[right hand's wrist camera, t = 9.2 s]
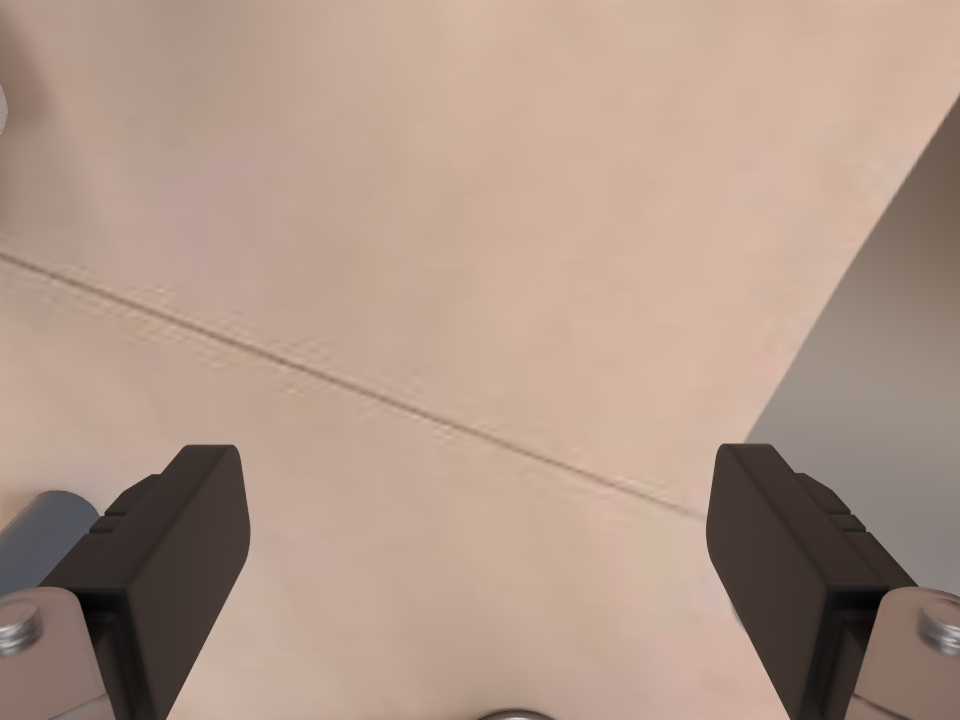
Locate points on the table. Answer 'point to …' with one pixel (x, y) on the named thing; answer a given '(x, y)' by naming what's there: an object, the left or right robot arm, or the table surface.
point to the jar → (41, 538)
